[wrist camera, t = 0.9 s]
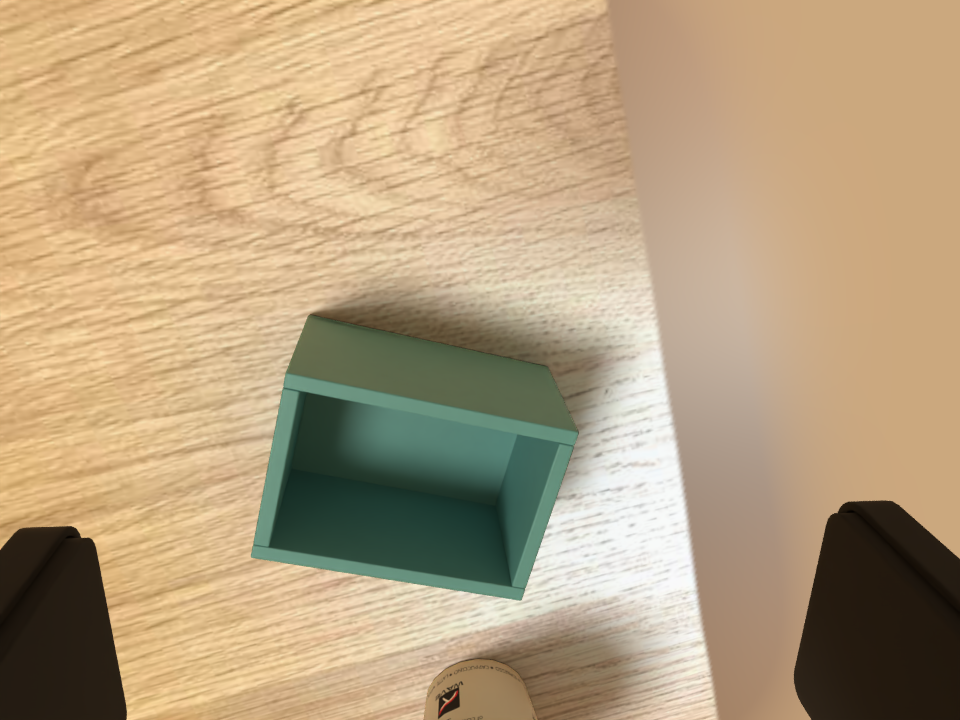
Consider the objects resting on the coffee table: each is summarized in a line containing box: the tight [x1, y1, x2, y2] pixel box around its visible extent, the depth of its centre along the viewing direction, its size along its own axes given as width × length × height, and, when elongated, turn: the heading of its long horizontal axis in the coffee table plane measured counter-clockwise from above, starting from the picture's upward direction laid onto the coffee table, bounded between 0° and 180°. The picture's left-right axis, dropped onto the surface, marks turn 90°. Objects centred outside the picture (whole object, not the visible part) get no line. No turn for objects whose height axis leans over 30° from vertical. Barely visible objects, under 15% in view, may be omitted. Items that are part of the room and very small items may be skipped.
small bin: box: [251, 315, 579, 600], centre depth 26 cm, size 6×9×6 cm
